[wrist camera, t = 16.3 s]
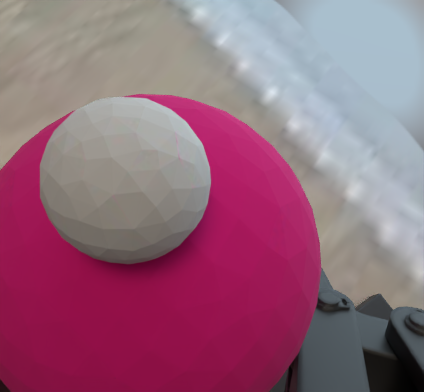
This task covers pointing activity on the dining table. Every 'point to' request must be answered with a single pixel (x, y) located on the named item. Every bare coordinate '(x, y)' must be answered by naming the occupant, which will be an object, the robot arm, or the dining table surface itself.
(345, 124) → the dining table surface
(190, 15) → the dining table surface
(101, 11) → the dining table surface
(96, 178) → the pepper mill
